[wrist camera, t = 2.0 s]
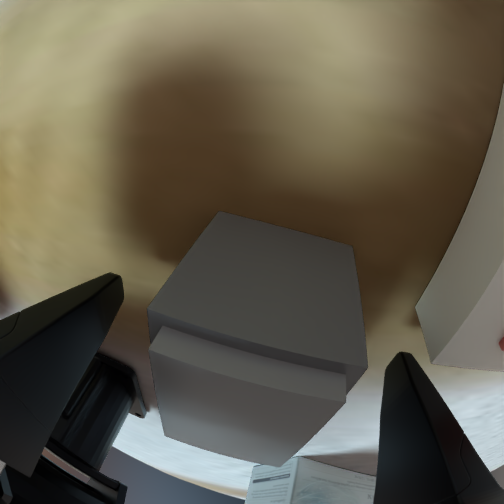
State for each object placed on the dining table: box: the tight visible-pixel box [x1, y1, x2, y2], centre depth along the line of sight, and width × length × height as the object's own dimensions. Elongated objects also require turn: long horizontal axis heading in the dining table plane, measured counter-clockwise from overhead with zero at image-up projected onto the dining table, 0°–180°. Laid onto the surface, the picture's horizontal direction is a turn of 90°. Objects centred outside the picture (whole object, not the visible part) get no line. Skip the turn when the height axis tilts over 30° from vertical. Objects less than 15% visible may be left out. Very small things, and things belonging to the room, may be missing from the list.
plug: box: [147, 211, 368, 467], centre depth 8 cm, size 5×4×5 cm
